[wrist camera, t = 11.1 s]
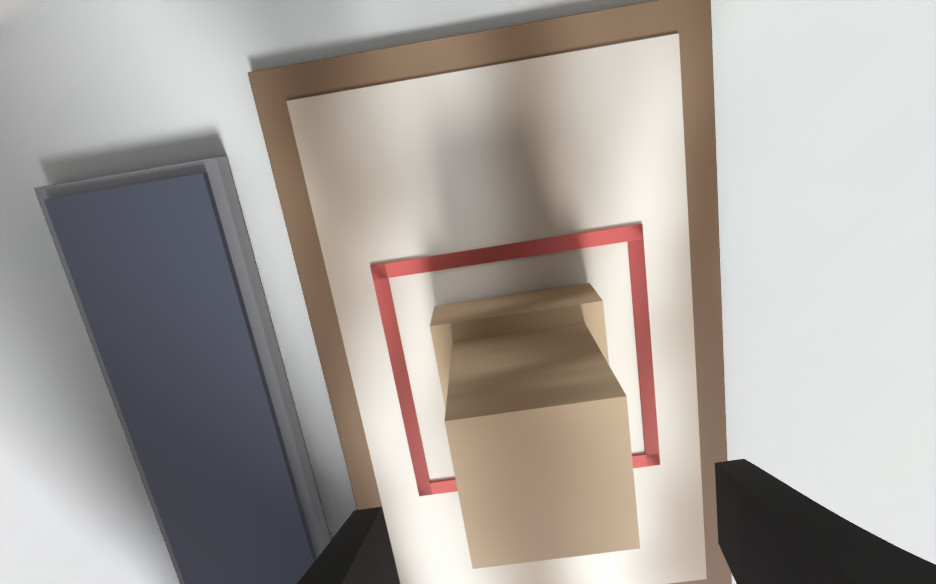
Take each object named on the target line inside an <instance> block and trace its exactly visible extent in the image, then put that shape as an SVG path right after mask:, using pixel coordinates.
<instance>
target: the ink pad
mask: <svg viewBox="0 0 936 584" xmlns="http://www.w3.org/2000/svg"><path fill="white" fill-rule="evenodd" d="M34 189H35V192H36V195H37V197H38V200H39V203H40V206H41V208H42V211H43V214H44V216H45V219H46V222H47V224H48V227H49V230H50V233H51V235H52V238H53V241H54V243H55V246H56V249H57V251H58V254H59V257H60V260H61V262H62V265H63V268H64V270H65V273H66V276H67V279H68V281H69V284H70V287H71V289H72V292H73V295H74V297H75V300H76V303H77V306H78V308H79V311H80V314H81V316H82V319H83V322H84V324H85V327H86V330H87V333H88V335H89V338H90V341H91V343H92V346H93V349H94V352H95V354H96V357H97V360H98V362H99V365H100V368H101V370H102V373H103V376H104V379H105V381H106V384H107V387H108V389H109V392H110V395H111V397H112V400H113V403H114V406H115V408H116V411H117V414H118V416H119V419H120V422H121V425H122V427H123V430H124V433H125V435H126V438H127V441H128V443H129V446H130V449H131V452H132V454H133V457H134V460H135V462H136V465H137V468H138V470H139V473H140V476H141V479H142V481H143V484H144V487H145V489H146V492H147V495H148V498H149V500H150V503H151V506H152V508H153V511H154V514H155V516H156V519H157V522H158V525H159V527H160V530H161V533H162V535H163V538H164V541H165V544H166V546H167V549H168V552H169V554H170V557H171V560H172V562H173V565H174V568H175V571H176V573H177V576H178V579H179V581H180V584H297V583H298V581H299V580H300V579H301V578H302V576H303V575H304V574H305V573H306V571H307V570H308V569H309V568H310V567H311V565H312V564H313V563H314V562H315V560H316V559H317V558H318V557H319V555H320V554H321V553H322V551H323V550H324V549H325V548H326V546H327V545H328V544H329V542H330V541H331V539H330V535H329V531H328V528H327V524H326V520H325V516H324V513H323V509H322V505H321V502H320V498H319V494H318V491H317V487H316V483H315V480H314V476H313V472H312V469H311V465H310V461H309V458H308V454H307V450H306V446H305V443H304V439H303V435H302V432H301V428H300V424H299V421H298V417H297V413H296V410H295V406H294V402H293V399H292V395H291V391H290V388H289V384H288V380H287V377H286V373H285V369H284V365H283V362H282V358H281V354H280V351H279V347H278V343H277V340H276V336H275V332H274V329H273V325H272V321H271V318H270V314H269V310H268V307H267V303H266V299H265V295H264V292H263V288H262V284H261V281H260V277H259V273H258V270H257V266H256V262H255V259H254V255H253V251H252V248H251V244H250V240H249V237H248V233H247V229H246V226H245V222H244V218H243V214H242V211H241V207H240V203H239V200H238V196H237V192H236V189H235V185H234V181H233V178H232V174H231V170H230V167H229V163H228V159H227V156H224V157H215V158H209V159H203V160H197V161H191V162H185V163H179V164H173V165H167V166H161V167H155V168H149V169H143V170H137V171H132V172H126V173H120V174H114V175H108V176H102V177H96V178H90V179H84V180H78V181H72V182H66V183H60V184H54V185H48V186H42V187H36V188H34Z"/></svg>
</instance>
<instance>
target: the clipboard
mask: <svg viewBox="0 0 936 584" xmlns="http://www.w3.org/2000/svg"><path fill="white" fill-rule="evenodd" d="M248 76H249V80H250V84H251V88H252V92H253V96H254V100H255V104H256V108H257V112H258V116H259V120H260V124H261V128H262V132H263V136H264V140H265V144H266V148H267V152H268V156H269V160H270V164H271V168H272V171H273V175H274V179H275V183H276V187H277V191H278V195H279V199H280V203H281V207H282V211H283V215H284V219H285V223H286V227H287V231H288V235H289V239H290V243H291V247H292V251H293V255H294V259H295V263H296V267H297V271H298V275H299V279H300V283H301V287H302V291H303V295H304V299H305V303H306V307H307V311H308V315H309V319H310V323H311V327H312V331H313V335H314V339H315V343H316V347H317V351H318V355H319V358H320V362H321V366H322V370H323V374H324V378H325V382H326V386H327V390H328V394H329V398H330V402H331V406H332V410H333V414H334V418H335V422H336V426H337V430H338V434H339V438H340V442H341V446H342V450H343V454H344V458H345V462H346V466H347V470H348V474H349V478H350V482H351V486H352V490H353V494H354V498H355V502H356V506H357V510H360V509H368V508H376V507H382V509H383V514H384V518H385V522H386V526H387V531H388V535H389V539H390V543H391V548H392V552H393V556H394V560H395V565H396V569H397V573H398V577H399V582H400V584H732V581H731V570H730V568H729V566H728V564H727V562H726V559H725V557H724V555H723V553H722V550H721V548H720V546H719V544H718V526H717V503H716V481H715V463H717V462H725V461H727V442H726V414H725V386H724V359H723V331H722V303H721V275H720V248H719V220H718V192H717V164H716V137H715V109H714V81H713V54H712V26H711V0H657V1H651V2H646V3H640V4H634V5H629V6H623V7H617V8H612V9H606V10H600V11H595V12H589V13H583V14H578V15H572V16H566V17H561V18H555V19H549V20H543V21H538V22H532V23H526V24H521V25H515V26H509V27H504V28H498V29H492V30H487V31H481V32H475V33H470V34H464V35H458V36H453V37H447V38H441V39H435V40H430V41H424V42H418V43H413V44H407V45H401V46H396V47H390V48H384V49H379V50H373V51H367V52H362V53H356V54H350V55H345V56H339V57H333V58H328V59H322V60H316V61H310V62H305V63H299V64H293V65H288V66H282V67H276V68H271V69H265V70H259V71H254V72H248ZM586 283H590V284H591V285H592V287H593V288H594V289H595V291H596V292H597V293H598V295H599V296H600V297H601V299H602V300H603V306H604V317H605V327H606V337H607V347H608V358H609V366H610V368H611V370H612V371H613V373H614V375H615V377H616V378H617V380H618V382H619V384H620V385H621V387H622V389H623V391H624V392H625V394H626V396H627V406H628V417H629V428H630V439H631V451H632V462H633V473H634V484H635V495H636V506H637V518H638V529H639V540H640V549H632V550H624V551H616V552H608V553H600V554H591V555H583V556H575V557H567V558H559V559H551V560H543V561H534V562H526V563H518V564H510V565H502V566H494V567H486V568H477V569H473V568H472V563H471V558H470V552H469V547H468V542H467V537H466V531H465V526H464V521H463V516H462V511H461V505H460V500H459V495H458V490H457V484H456V479H455V474H454V469H453V463H452V458H451V453H450V448H449V443H448V437H447V432H446V427H445V422H444V421H445V411H446V410H445V405H444V399H443V394H442V389H441V383H440V378H439V373H438V368H437V362H436V357H435V352H434V346H433V341H432V336H431V331H430V323H431V318H432V314H433V310H434V306H439V305H445V304H452V303H459V302H465V301H472V300H479V299H485V298H492V297H499V296H506V295H512V294H519V293H526V292H532V291H539V290H546V289H552V288H559V287H566V286H572V285H579V284H586Z"/></svg>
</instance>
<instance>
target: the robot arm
mask: <svg viewBox="0 0 936 584" xmlns="http://www.w3.org/2000/svg"><path fill="white" fill-rule="evenodd" d="M715 481H716V503H717V526H718V544H719V546H720V548H721V550H722V553H723V555H724V557H725V559H726V562H727V564H728V566H729V568H730V570H731V572H732V575H733V577H734V579H735V581H736V583H737V584H936V565H935V564H933V563H931V562H928V561H926V560H924V559H922V558H920V557H917V556H915V555H913V554H911V553H909V552H907V551H905V550H903V549H901V548H899V547H897V546H895V545H893V544H891V543H889V542H887V541H885V540H883V539H881V538H879V537H877V536H876V535H874V534H872V533H870V532H868V531H866V530H864V529H862V528H860V527H858V526H857V525H855V524H853V523H851V522H849V521H848V520H846V519H844V518H842V517H840V516H839V515H837V514H835V513H834V512H832V511H830V510H828V509H827V508H825V507H823V506H821V505H820V504H818V503H816V502H815V501H813V500H811V499H810V498H808V497H806V496H805V495H803V494H801V493H800V492H798V491H796V490H795V489H793V488H791V487H790V486H788V485H787V484H785V483H783V482H782V481H780V480H778V479H777V478H775V477H774V476H772V475H770V474H769V473H767V472H765V471H764V470H762V469H760V468H759V467H757V466H755V465H754V464H752V463H750V462H749V461H747V460H745V459H740V460H732V461H725V462H717V463H715ZM297 584H400V582H399V577H398V573H397V569H396V565H395V560H394V556H393V552H392V548H391V543H390V539H389V535H388V531H387V526H386V522H385V518H384V514H383V509H382V507H376V508H368V509H360V510H355V511H354V512H353V513H352V514H351V516H350V517H349V518H348V519H347V521H346V522H345V523H344V524H343V526H342V527H341V528H340V529H339V531H338V532H337V533H336V535H335V536H334V537H333V539H332V540H331V541H330V542H329V544H328V545H327V546H326V548H325V549H324V550H323V551H322V553H321V554H320V555H319V557H318V558H317V559H316V560H315V562H314V563H313V564H312V565H311V567H310V568H309V569H308V570H307V571H306V573H305V574H304V575H303V576H302V578H301V579H300V580H299V581H298V583H297Z"/></svg>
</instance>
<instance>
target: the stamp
mask: <svg viewBox="0 0 936 584" xmlns="http://www.w3.org/2000/svg"><path fill="white" fill-rule="evenodd" d="M430 331H431V336H432V341H433V346H434V352H435V357H436V362H437V368H438V373H439V378H440V383H441V389H442V394H443V399H444V405H445V410H446V411H445V421H444V422H445V427H446V432H447V437H448V443H449V448H450V453H451V458H452V463H453V469H454V474H455V479H456V484H457V490H458V495H459V500H460V505H461V511H462V516H463V521H464V526H465V531H466V537H467V542H468V547H469V552H470V558H471V563H472V568H473V569H477V568H486V567H494V566H502V565H510V564H518V563H526V562H534V561H543V560H551V559H559V558H567V557H575V556H583V555H591V554H600V553H608V552H616V551H624V550H632V549H640V540H639V529H638V518H637V506H636V495H635V484H634V473H633V462H632V451H631V439H630V428H629V417H628V406H627V396H626V394H625V392H624V391H623V389H622V387H621V385H620V384H619V382H618V380H617V378H616V377H615V375H614V373H613V371H612V370H611V368H610V366H609V358H608V347H607V337H606V327H605V317H604V306H603V300H602V299H601V297H600V296H599V295H598V293H597V292H596V291H595V289H594V288H593V287H592V285H591V284H590V283H586V284H579V285H572V286H566V287H559V288H552V289H546V290H539V291H532V292H526V293H519V294H512V295H506V296H499V297H492V298H485V299H479V300H472V301H465V302H459V303H452V304H445V305H439V306H434V310H433V314H432V318H431V323H430Z"/></svg>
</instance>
